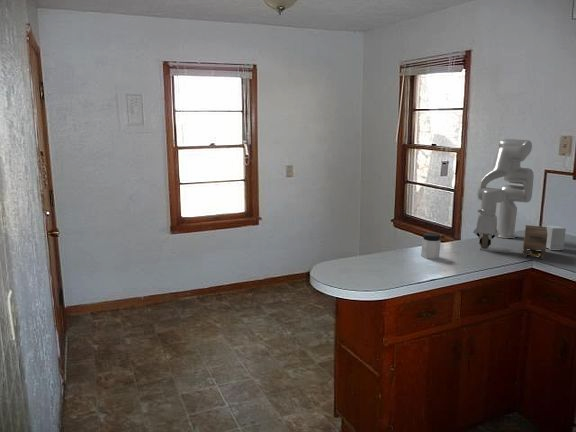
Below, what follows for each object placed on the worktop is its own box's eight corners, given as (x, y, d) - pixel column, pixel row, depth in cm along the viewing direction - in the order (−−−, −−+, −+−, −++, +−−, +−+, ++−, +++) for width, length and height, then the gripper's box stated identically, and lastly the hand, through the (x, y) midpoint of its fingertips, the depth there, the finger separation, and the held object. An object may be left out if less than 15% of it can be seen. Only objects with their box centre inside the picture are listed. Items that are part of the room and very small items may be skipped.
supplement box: (563, 251, 267) (566, 228, 264) (549, 250, 267) (552, 228, 264) (556, 247, 274) (559, 225, 271) (543, 247, 274) (545, 225, 272)
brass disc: (529, 254, 260) (530, 251, 260) (540, 255, 258) (540, 252, 257) (529, 256, 255) (530, 253, 255) (540, 257, 253) (540, 255, 253)
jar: (418, 255, 254) (420, 232, 251) (431, 254, 256) (433, 231, 254) (428, 259, 245) (429, 236, 243) (442, 258, 248) (443, 235, 245)
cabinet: (523, 248, 270) (525, 225, 267) (543, 251, 265) (546, 227, 263) (522, 257, 253) (525, 231, 250) (544, 259, 249) (547, 234, 246)
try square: (480, 247, 271) (482, 230, 269) (529, 253, 260) (532, 235, 258) (480, 249, 266) (481, 231, 264) (529, 255, 256) (532, 237, 254)
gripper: (471, 212, 263) (468, 245, 267) (504, 215, 256) (500, 249, 260) (472, 210, 270) (469, 242, 274) (504, 213, 263) (501, 246, 267)
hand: (484, 245), depth 267 cm, fingers closed on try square, 3 cm apart
